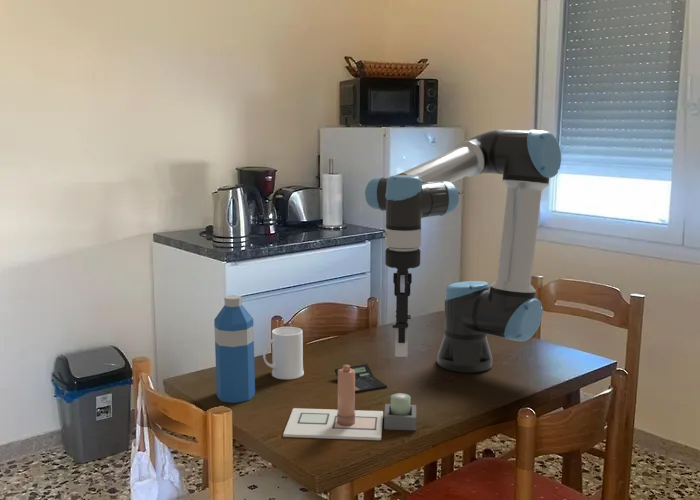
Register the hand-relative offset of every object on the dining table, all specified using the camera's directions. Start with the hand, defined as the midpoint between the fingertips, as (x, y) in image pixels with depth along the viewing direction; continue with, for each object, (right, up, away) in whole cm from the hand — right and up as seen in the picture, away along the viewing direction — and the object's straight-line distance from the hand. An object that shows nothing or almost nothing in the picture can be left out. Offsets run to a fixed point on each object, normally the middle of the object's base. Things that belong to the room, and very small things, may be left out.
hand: (401, 351), depth 158 cm
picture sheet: (-15, -17, +2) cm, 22 cm away
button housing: (0, -16, +3) cm, 17 cm away
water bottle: (-39, -14, +19) cm, 46 cm away
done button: (0, -14, +3) cm, 14 cm away
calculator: (-9, -12, +28) cm, 31 cm away
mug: (-29, -11, +33) cm, 45 cm away
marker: (-12, -16, +2) cm, 20 cm away
